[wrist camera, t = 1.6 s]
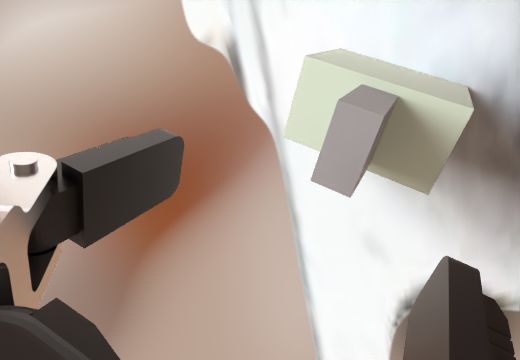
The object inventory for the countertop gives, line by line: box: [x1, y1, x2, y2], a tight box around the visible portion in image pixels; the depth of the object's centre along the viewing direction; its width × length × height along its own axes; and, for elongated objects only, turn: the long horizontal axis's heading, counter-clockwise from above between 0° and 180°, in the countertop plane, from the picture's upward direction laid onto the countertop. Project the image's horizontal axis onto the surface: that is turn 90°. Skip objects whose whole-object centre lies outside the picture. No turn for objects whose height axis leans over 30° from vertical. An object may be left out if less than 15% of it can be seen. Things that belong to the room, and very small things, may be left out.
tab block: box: [283, 49, 474, 198], centre depth 21 cm, size 5×9×13 cm, turn 76°
